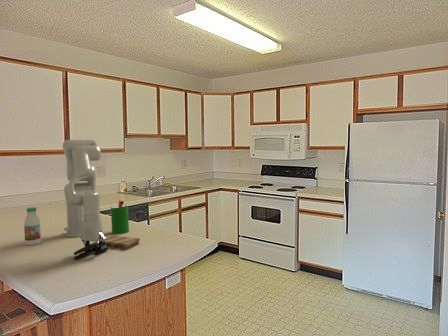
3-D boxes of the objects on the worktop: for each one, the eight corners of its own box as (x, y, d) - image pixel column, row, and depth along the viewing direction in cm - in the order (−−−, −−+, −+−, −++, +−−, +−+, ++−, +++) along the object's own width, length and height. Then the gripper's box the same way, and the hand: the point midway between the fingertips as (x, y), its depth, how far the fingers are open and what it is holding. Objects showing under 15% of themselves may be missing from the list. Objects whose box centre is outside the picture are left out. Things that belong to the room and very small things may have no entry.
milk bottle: (26, 242, 184) (24, 207, 182) (42, 240, 186) (40, 206, 185) (23, 246, 176) (21, 209, 175) (39, 244, 179) (38, 208, 178)
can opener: (101, 248, 171) (101, 238, 171) (110, 251, 167) (109, 240, 167) (69, 258, 156) (69, 247, 156) (77, 261, 152) (77, 249, 152)
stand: (96, 245, 176) (96, 240, 175) (110, 240, 186) (110, 235, 186) (127, 249, 169) (127, 244, 168) (140, 243, 179) (139, 238, 179)
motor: (124, 229, 211) (123, 198, 209) (132, 231, 205) (131, 199, 204) (109, 232, 203) (108, 200, 201) (117, 234, 197) (116, 202, 196)
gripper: (72, 217, 161) (74, 253, 162) (100, 220, 155) (101, 257, 156) (84, 214, 168) (85, 248, 169) (111, 216, 162) (112, 252, 163)
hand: (93, 252), depth 162 cm, fingers closed on can opener, 6 cm apart
